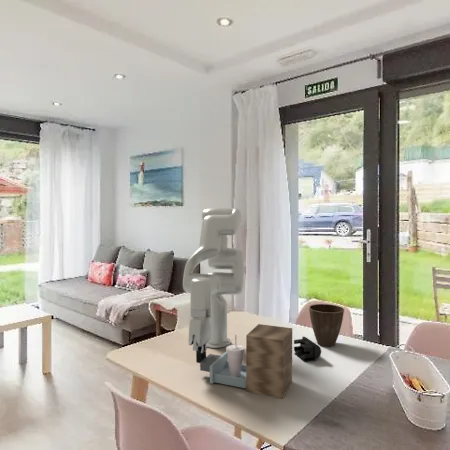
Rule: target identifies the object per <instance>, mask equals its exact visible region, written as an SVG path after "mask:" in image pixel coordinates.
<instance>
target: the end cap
mask: <svg viewBox="0 0 450 450" xmlns="http://www.w3.org/2000/svg"><path fill="white" fill-rule="evenodd" d="M297 344H299V345H298V346H297ZM293 345H296V346H293V351H294V355H295V356H296V357H297V358H298V359H300V360H301V361H303V362H304V363H312V362H316V361H317V360H318V359H319V358H320V357H321V355H322V349H321V347H320V345H319V344H318V343H316V342H314V341H312V340H311V339H309V338H308V337H306V336H302V338H299V339H294V340H293Z"/></svg>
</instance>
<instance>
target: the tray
mask: <svg viewBox="0 0 450 450" xmlns="http://www.w3.org/2000/svg"><path fill="white" fill-rule="evenodd" d="M199 367H200V368H199V370H200V371H203V372H208V373H209V384H214V383H217V384H221V385H227V386H231V387H237V388H242V389H246V364H243V363H242V367H241V375H240V376H239V377H234V376H230V371H229V363H228V355H227V351H224V352H223V353H222V354H221V355H219V354H213V353H209V354H207V355H206V358H204V359H203V360H202V361H201V362H200V363H199Z"/></svg>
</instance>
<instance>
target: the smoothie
mask: <svg viewBox="0 0 450 450" xmlns="http://www.w3.org/2000/svg"><path fill="white" fill-rule="evenodd" d="M225 349H226V350H225V352H227V355H228V363H229V371H230V376H234V377H239V376H240V375H241V367H242V364H243V358H244V357H243V356H244V353H245V347H244V346H243V345H240V344H237V334H234V344H230V345H228V346H226V348H225Z"/></svg>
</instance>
